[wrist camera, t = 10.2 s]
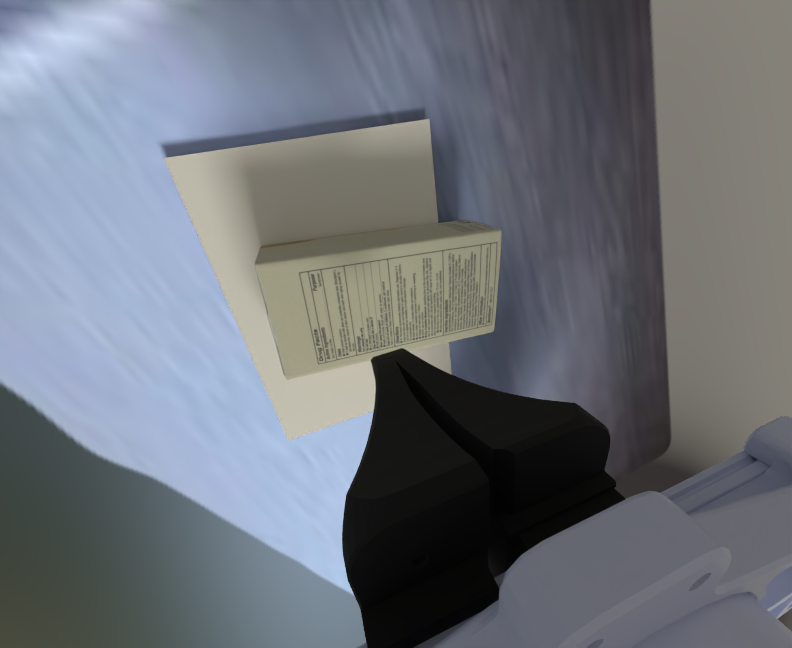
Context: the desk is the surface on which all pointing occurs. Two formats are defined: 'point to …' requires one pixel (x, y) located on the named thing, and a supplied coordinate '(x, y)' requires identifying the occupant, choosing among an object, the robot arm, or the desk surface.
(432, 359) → the mat
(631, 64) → the desk surface
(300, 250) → the skincare box
